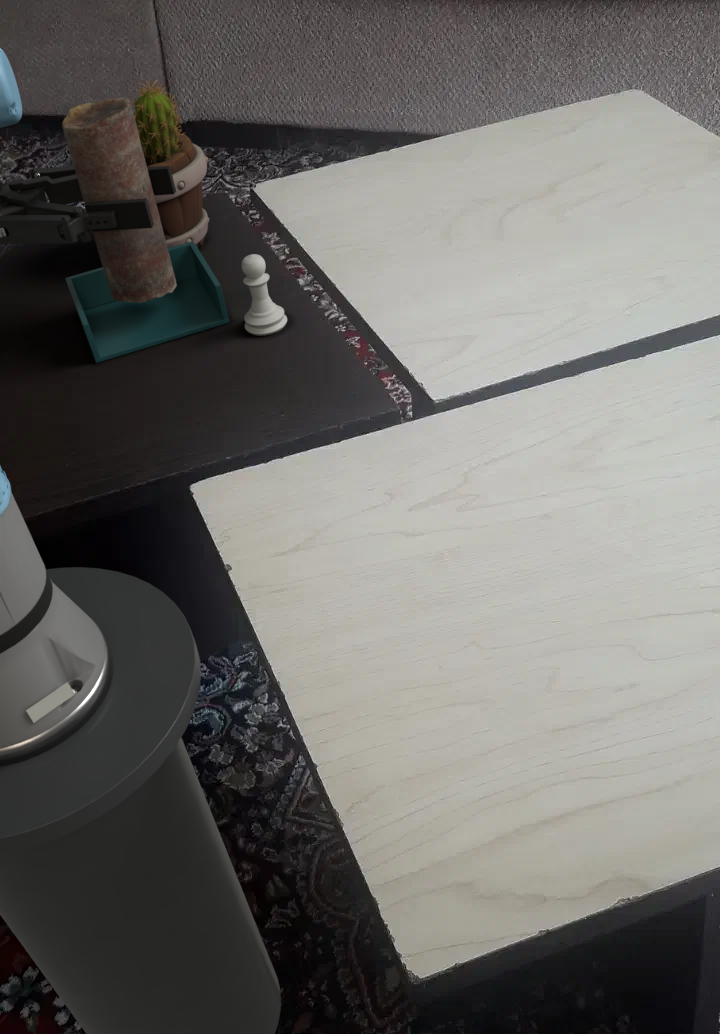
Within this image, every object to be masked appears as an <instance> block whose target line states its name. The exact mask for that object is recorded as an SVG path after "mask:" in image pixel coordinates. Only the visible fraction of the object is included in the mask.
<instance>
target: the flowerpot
mask: <svg viewBox="0 0 720 1034" xmlns="http://www.w3.org/2000/svg"><path fill="white" fill-rule="evenodd" d="M150 79H151V74H149V77H148V80H147V79H146V80H145V81H146V85H145V84H144V83H140V82H139V83H138V82H137V84H138V86H139V89H137V88H136V89H134V90H136V92H137V93H138V94H137V95H138V98H136V99H134V98H132V102H130V103H131V106H132V109H133V110H134V111H133V114H134V118H135V122H136V125H137V129H138V134H139V138H140V142H141V146H142V150H143V154H144V158H145V162H146V166H147V167H157V166H170V169H171V173H172V177H173V180H174V184H175V188H176V192H175V194H171V195H156V196H154V197H155V201H156V205H157V208H158V212H159V216H160V221H161V224H162V228H163V232H164V236H165V240H166V244H167V247H168V248H171V247H175V246H178V245H182V244H185V243H188V242H192V241H193V242H194V243H195V245H196V246H197V248H198V249H199V247H200V246H202V245H203V244H204V241H205V237H206V235H207V233H208V230H209V229H208V228H209V223H210V218H209V216H208V213H207V211H206V210H205V209H204V208H203V195H204V194H203V180H204V178H205V177H206V174H207V172H208V161H209V157H208V156H206V155H205V152H204V151H203V150H202V148H201V147H200V146H198V145H197V144H195V143H193V142H192V140H191V138H190V137H188V135H186V134H187V132H185V131H184V132H183V133H181V132H182V131H183V130H182V129H183V128H182V125H183V123H182V120H183V119H184V116H181V115H180V111H181V110H180V109H179V107H178V106H177V105H178V104H179V103H180V101H176V100H173V99H174V97H176V94H174V95H173V97H171V96H172V93H171V92H170V93H169V91H168V92H166V91H164V90H165V89H167V87H163V88H162V86H163V83H164V82H162V83H160V85H159V82H158V81H159V79H156V80H155V81H154V82H152V84H150V81H151V80H150ZM141 85H142V86H141ZM176 109H177V110H176ZM177 111H178V112H177ZM181 118H182V119H181ZM179 124H180V125H179ZM179 128H180V129H179ZM185 133H186V134H185Z"/></svg>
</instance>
